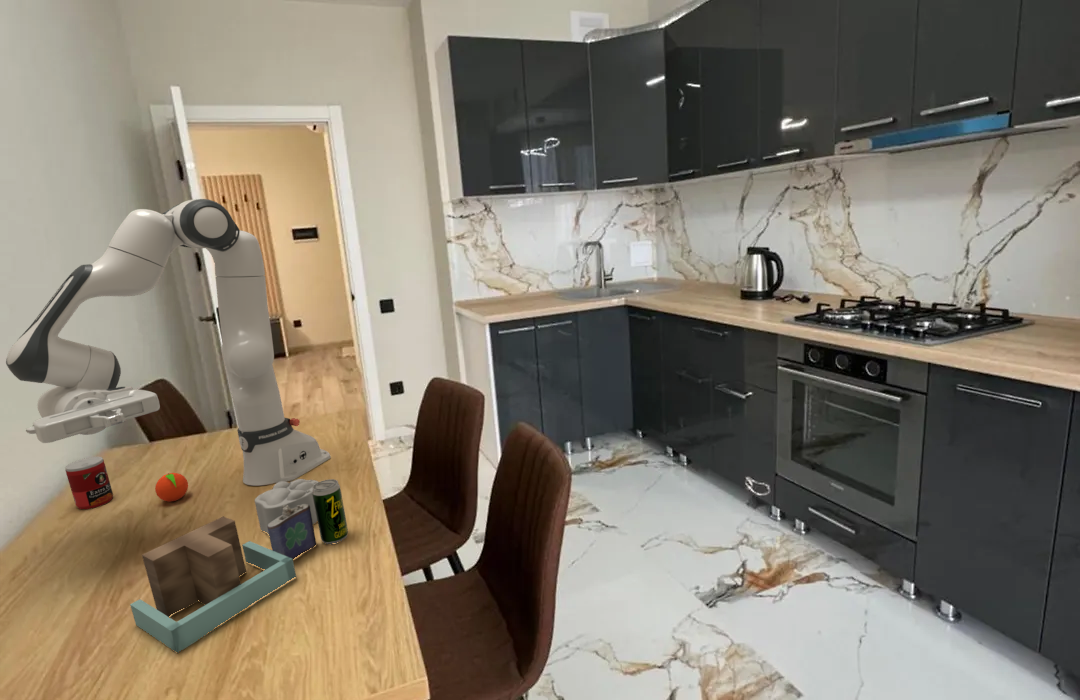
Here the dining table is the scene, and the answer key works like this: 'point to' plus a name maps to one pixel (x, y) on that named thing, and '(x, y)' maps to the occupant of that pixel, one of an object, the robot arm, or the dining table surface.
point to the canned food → (89, 482)
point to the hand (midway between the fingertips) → (116, 420)
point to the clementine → (171, 487)
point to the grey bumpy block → (284, 500)
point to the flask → (292, 531)
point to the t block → (195, 566)
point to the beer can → (330, 511)
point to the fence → (217, 601)
